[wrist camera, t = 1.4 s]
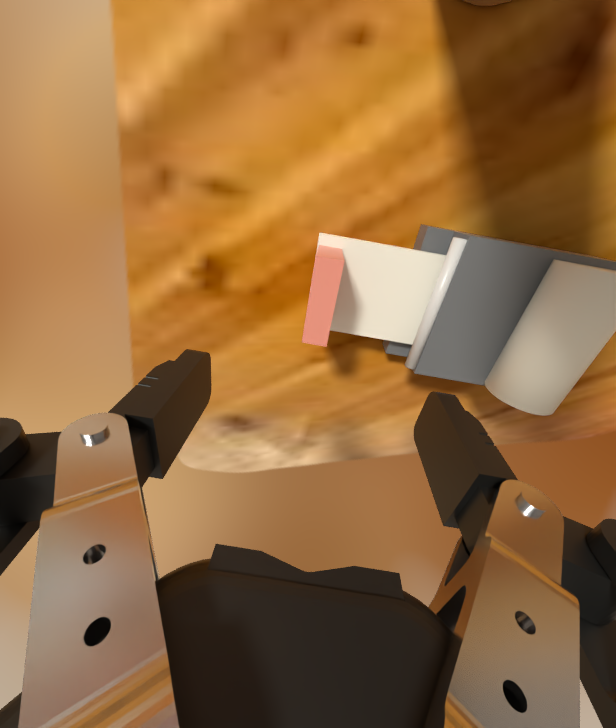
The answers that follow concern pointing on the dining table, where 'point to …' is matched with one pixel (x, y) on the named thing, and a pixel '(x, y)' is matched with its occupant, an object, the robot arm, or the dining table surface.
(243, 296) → the dining table surface
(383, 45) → the dining table surface
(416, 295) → the pink-tipped cream block
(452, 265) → the dispenser
